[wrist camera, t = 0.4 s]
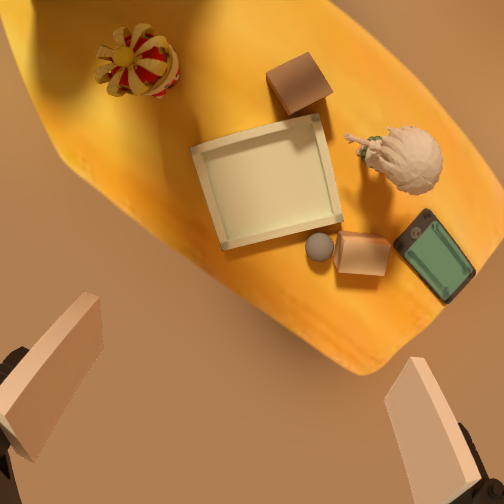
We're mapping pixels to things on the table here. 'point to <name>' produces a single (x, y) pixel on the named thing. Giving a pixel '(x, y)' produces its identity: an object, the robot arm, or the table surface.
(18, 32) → the table surface
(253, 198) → the tray
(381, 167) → the figurine
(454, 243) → the smartphone
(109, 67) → the toy
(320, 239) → the grey ball
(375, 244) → the maple block
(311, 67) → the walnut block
